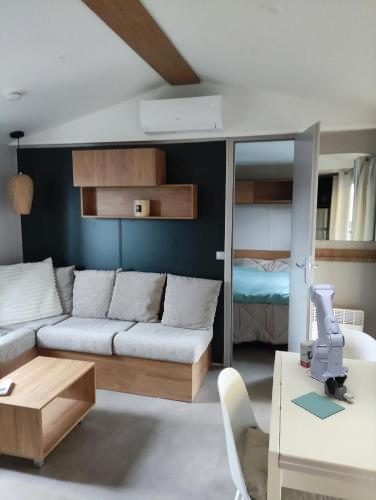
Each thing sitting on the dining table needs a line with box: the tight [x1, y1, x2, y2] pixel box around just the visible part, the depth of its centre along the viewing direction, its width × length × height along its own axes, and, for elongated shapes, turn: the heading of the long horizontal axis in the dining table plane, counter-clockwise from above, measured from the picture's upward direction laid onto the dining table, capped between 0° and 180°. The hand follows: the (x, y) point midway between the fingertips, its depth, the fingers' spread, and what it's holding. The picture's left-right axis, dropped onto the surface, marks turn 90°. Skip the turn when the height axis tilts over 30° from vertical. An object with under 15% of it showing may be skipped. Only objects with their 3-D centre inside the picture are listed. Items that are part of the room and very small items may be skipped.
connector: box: [323, 381, 355, 402], centre depth 152 cm, size 13×4×5 cm, turn 30°
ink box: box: [299, 339, 320, 369], centre depth 183 cm, size 9×5×12 cm, turn 114°
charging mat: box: [290, 391, 346, 420], centre depth 146 cm, size 16×13×1 cm
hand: (335, 392), depth 153 cm, fingers closed on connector, 4 cm apart
